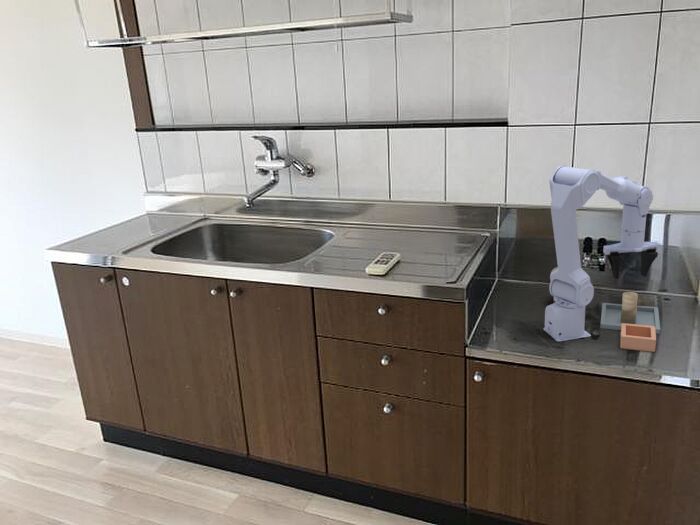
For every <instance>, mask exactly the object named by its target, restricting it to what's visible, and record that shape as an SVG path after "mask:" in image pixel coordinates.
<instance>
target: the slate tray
mask: <svg viewBox="0 0 700 525" xmlns="http://www.w3.org/2000/svg"><path fill="white" fill-rule="evenodd" d="M601 304H602V305H601V317H600V327H599V328H600V329H603V330H604V329H605V330H613V331H614V330H615V331H621V324H622V322H621V312H622V303H621V304H620V303H611V302H610V303H609V302H602V303H601ZM659 314H660V312H659V307H657V306H648V305H647V306H646V305H637V312H636V323H635V324H636V325H647V326H655V332H656V335H661V322H660V315H659Z"/></svg>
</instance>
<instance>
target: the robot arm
mask: <svg viewBox="0 0 700 525" xmlns="http://www.w3.org/2000/svg"><path fill="white" fill-rule="evenodd" d="M628 178H629V177H628V176H625V175H620V176H615V177H611V176H609V175H607V174H605V173H603V172H602V171H600V170H596V169H586V168H580V167H579V168H578V167H574V166H573V167H572V166H567V165H559V166H558V167H556V168H555V170H554V171H553V173H552V175H551V177H550V178H549V179H548V180H549V181H548V182H549V189H550V198H551V200H550V201H551V202H550V214H551V221H552V222H551V223H552V230H553V237H554V246H555V255H556V263H557V267H558V268H557V269H556V270H554V271H553V272H552V271H551V272H552V273H551V272H550V275H549V277H550V276H551V280H550V283H549V286H548V287H549V289H548V290H549V293H550V295H551V296H552V297H553V296H554V301H556V302H555V303H551V304H549V305H547V306H546V307H545V310H544V327H543V330H544V331H545V332H546V333H547V334H548V335H549V336H551V338H553V339H554V340H555V341H556V342H563V341H565V342H566V341H570V340H577V339H581V338H587V337H591V336H592V335H591V334H590V332H588V331H586V330H585V320H586V306H587V305H589V304H590V303H591V301H592V300H593V298H594V294H595V288H594V286H593V284H592V283H591V277H590V276H589V274H588V273H587V272H586V271H585V270H584V269H583V268H582V264H581V254H580V243H579V234H578V233H579V232H578V225H577V224H578V223H577V216H576V215H577V214H576V211H577V210H578V209H581V208H583V207H584V205H585V204H586V203H587V202H588V201H589V200H590V199H591V198H592V197H593V196H594V194H595V193H596V192H597V191H598V190H599V191H600V190H602V191H604V192H605V194H606V196H607V197H608V198H609V199H612V200H614V201H617V202H618V203H619V204H620V205H621V206H622V205H623V206H622V217H621V218H622V219H621V232H620V233H621V236H620V242H617V243H614V244H609V245H603V250H602V251H603V254H605V256H606V258H607V259H608V262H609V264H610V269H611V271H612V277H613V279H615V280H618V279H619V277H620V267H621V263H622V260H623V259H622V257H621V256H620V254H621V253H623V254H624V253H634V252H635V253H639V252H640V260H641V261H640V263H641V264H640V275H641V276H643V277H647V275H648V273H649V270H650V268H651V266H652V264H653V263H654V261H655V260H656V259H657V257H658V256H659V253H658V251H661V242H658V241H645V234H646V222H647V215H648V214H649V212H650V207H651V205H652V202H653V200H654V194H653V191H652V189H650V187H648V186H646V185H639V184H638V181H634V180H631V181H630V180H629V179H628Z"/></svg>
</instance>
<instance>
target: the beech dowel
mask: <svg viewBox="0 0 700 525" xmlns="http://www.w3.org/2000/svg"><path fill="white" fill-rule="evenodd" d="M638 295H639V294H638V293H636V292H634V291H624V292H623V293H622V297H621V298H622V299H621V304H622V312H621V322H622V323H626V324H635V323H636V312H637V306H638V299H639V298H638V297H639V296H638Z"/></svg>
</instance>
